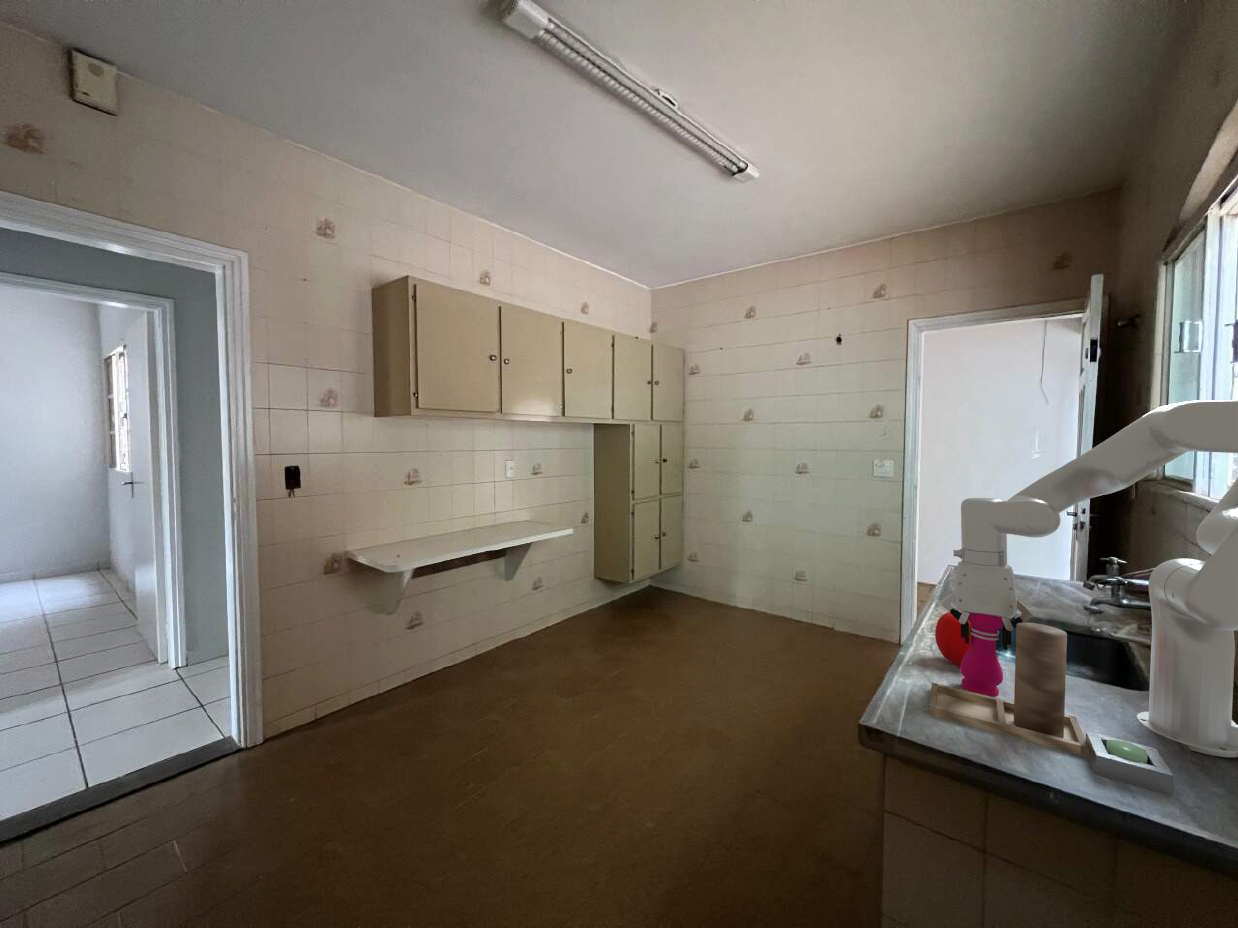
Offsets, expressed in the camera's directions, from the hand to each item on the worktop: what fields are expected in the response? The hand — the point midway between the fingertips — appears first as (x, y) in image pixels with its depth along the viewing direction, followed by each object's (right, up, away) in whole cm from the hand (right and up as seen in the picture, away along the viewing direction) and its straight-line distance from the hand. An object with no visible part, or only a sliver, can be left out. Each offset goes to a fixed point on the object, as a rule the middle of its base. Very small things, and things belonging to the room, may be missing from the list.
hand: (985, 643), depth 101 cm
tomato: (+5, -11, +15) cm, 19 cm away
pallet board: (-5, -11, -11) cm, 16 cm away
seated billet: (-1, -10, -14) cm, 17 cm away
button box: (+3, -11, -25) cm, 28 cm away
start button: (+3, -11, -25) cm, 28 cm away
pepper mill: (-1, -11, +1) cm, 11 cm away
